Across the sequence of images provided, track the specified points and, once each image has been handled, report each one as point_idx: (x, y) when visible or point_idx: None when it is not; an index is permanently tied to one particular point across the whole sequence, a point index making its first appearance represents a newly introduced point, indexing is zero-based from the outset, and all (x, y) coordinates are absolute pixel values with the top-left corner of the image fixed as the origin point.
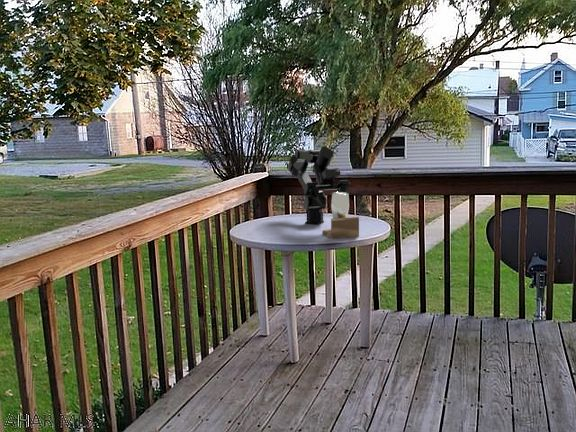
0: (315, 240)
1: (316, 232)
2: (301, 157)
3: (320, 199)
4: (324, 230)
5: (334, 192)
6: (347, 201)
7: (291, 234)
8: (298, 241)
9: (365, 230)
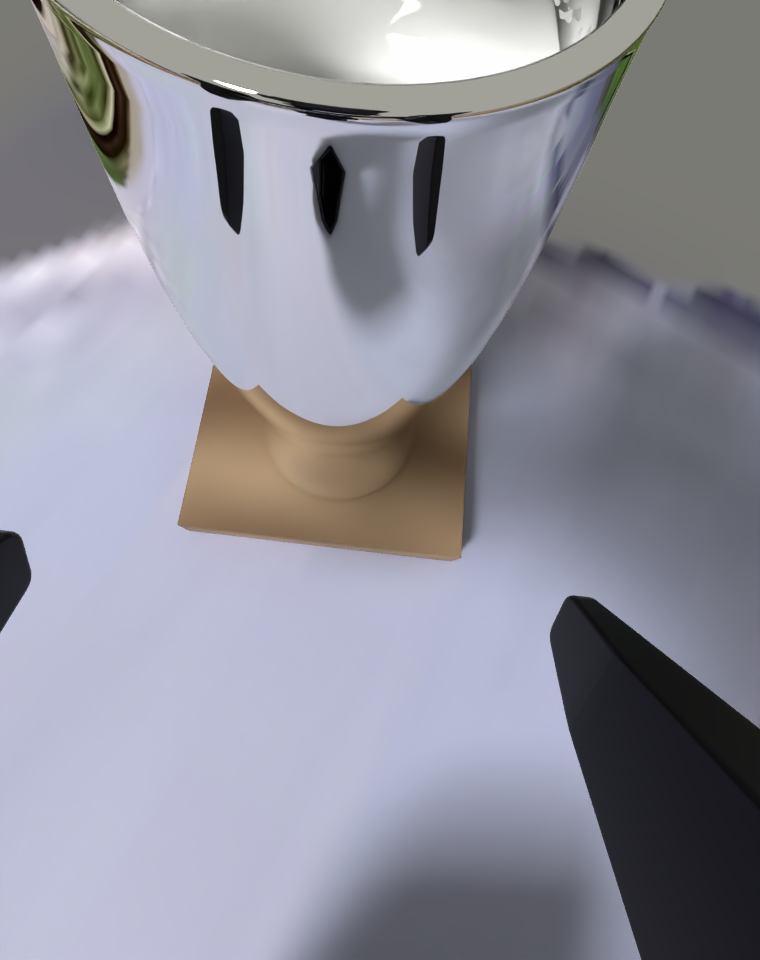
0: (598, 374)
1: (474, 648)
2: None
3: (689, 687)
4: (453, 526)
5: (466, 81)
6: (260, 4)
7: (710, 688)
8: (718, 413)
9: (12, 473)
